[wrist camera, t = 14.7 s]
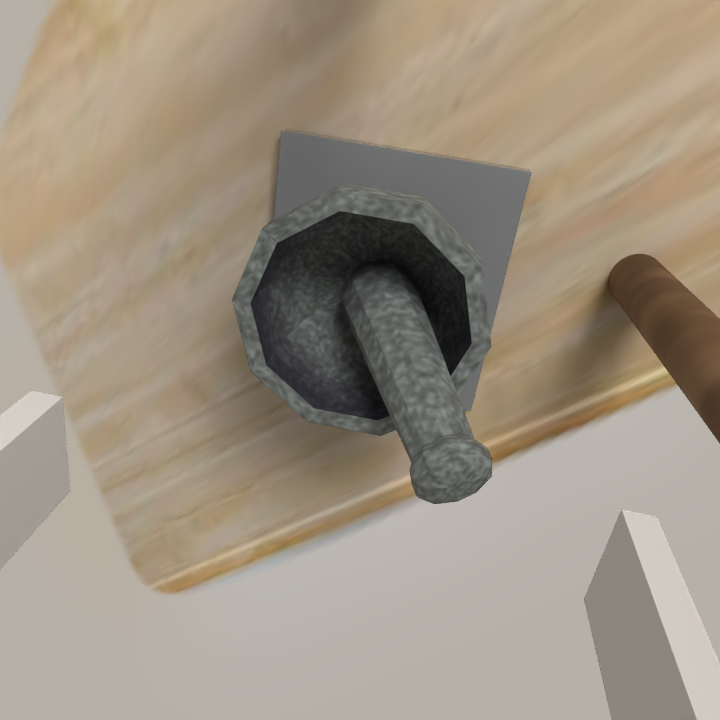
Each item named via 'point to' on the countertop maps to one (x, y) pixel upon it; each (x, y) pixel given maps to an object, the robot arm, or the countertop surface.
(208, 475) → the countertop surface
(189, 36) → the countertop surface
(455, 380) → the mortar and pestle
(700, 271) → the countertop surface
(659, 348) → the post
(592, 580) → the robot arm
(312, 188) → the slate pad
